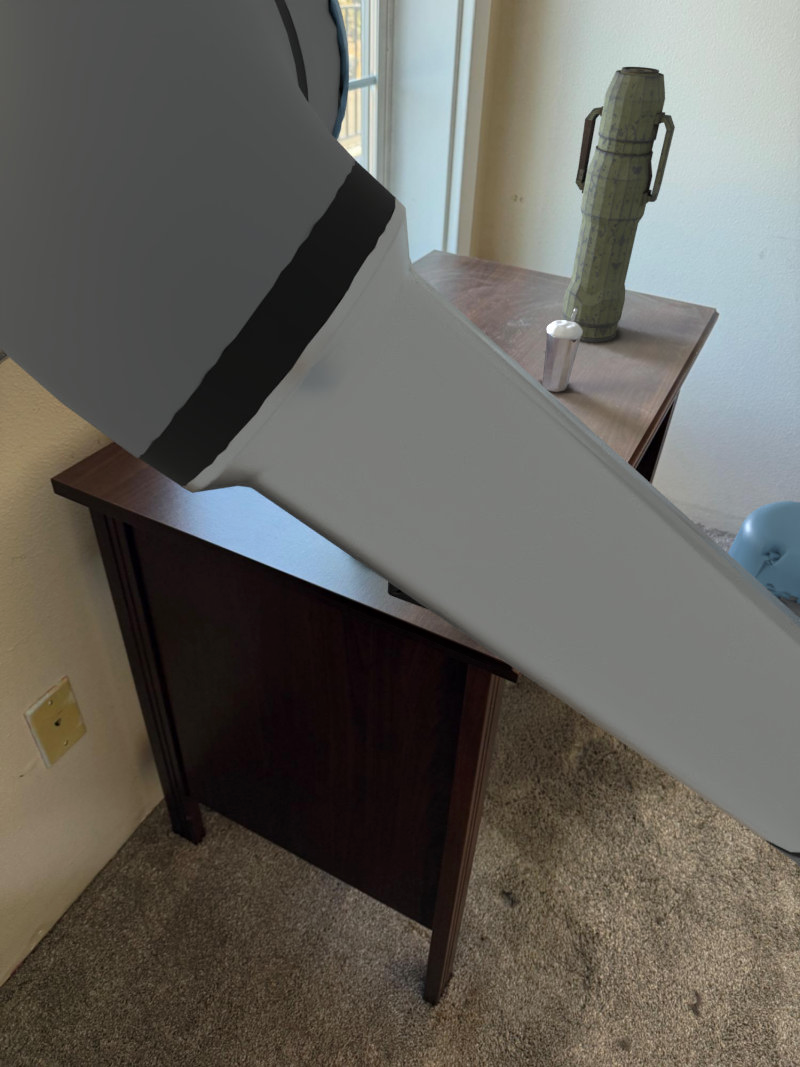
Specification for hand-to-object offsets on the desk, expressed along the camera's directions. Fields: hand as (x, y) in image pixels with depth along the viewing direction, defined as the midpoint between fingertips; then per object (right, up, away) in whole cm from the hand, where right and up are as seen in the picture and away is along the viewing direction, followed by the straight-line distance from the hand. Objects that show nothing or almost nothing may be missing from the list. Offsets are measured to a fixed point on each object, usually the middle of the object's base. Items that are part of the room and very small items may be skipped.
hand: (428, 491), depth 67 cm
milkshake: (+19, +16, +35) cm, 43 cm away
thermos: (+27, +28, +50) cm, 63 cm away
